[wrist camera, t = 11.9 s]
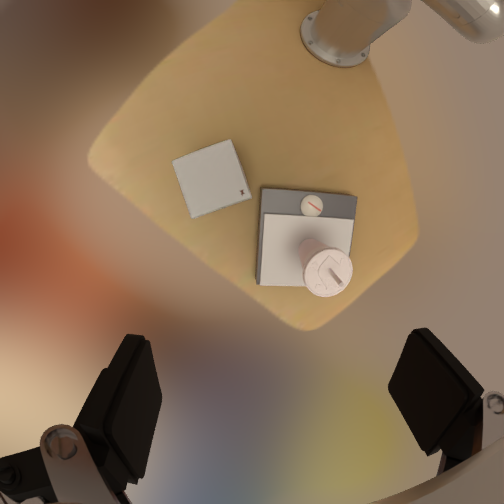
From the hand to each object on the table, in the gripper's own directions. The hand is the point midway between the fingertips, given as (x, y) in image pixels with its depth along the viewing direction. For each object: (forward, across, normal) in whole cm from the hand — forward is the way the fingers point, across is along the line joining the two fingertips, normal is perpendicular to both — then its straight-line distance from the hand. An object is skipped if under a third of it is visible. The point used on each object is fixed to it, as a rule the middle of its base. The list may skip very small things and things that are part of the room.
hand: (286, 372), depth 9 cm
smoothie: (+32, -10, +6) cm, 34 cm away
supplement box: (+36, +5, -5) cm, 37 cm away
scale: (+36, -9, +4) cm, 37 cm away
